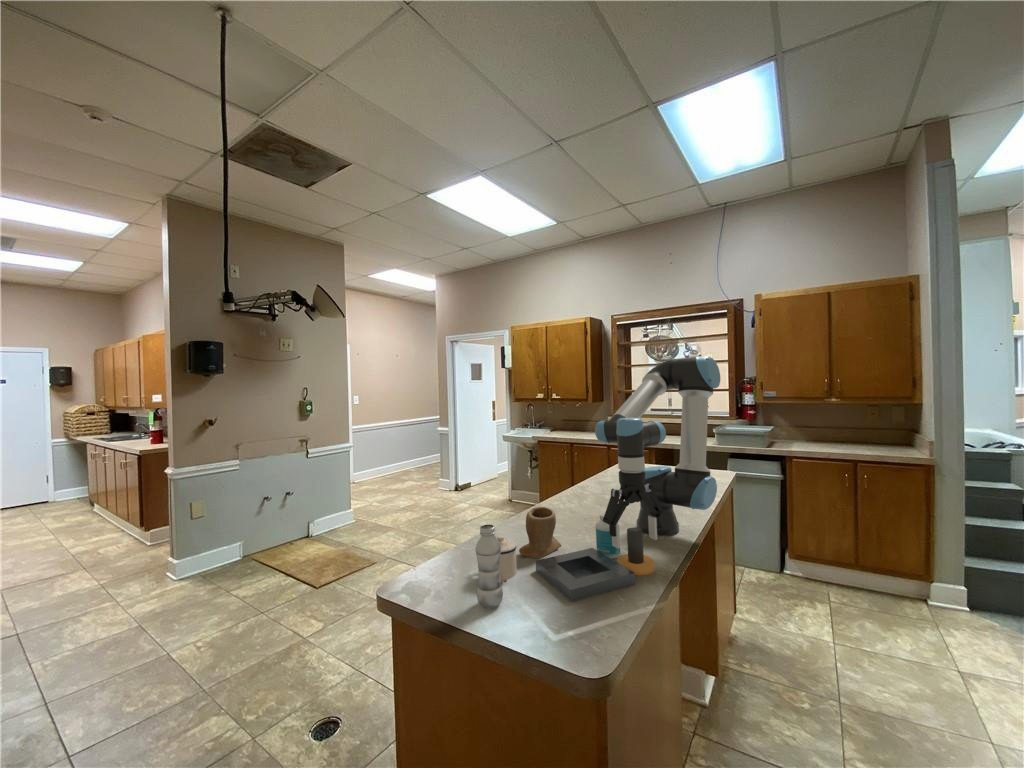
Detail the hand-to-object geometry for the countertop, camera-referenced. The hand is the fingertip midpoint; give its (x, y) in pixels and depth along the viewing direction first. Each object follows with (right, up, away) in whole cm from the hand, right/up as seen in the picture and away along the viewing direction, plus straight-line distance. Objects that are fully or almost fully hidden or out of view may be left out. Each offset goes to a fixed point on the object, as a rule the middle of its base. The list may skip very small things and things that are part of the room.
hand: (635, 542), depth 121 cm
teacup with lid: (-40, -10, +1) cm, 42 cm away
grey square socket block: (-16, -9, -5) cm, 19 cm away
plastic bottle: (-42, -10, -16) cm, 46 cm away
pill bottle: (-5, -9, +11) cm, 15 cm away
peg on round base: (0, -8, 0) cm, 8 cm away
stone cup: (-26, -10, +16) cm, 32 cm away
